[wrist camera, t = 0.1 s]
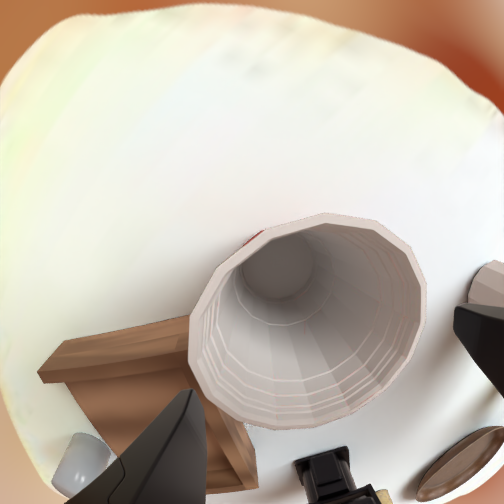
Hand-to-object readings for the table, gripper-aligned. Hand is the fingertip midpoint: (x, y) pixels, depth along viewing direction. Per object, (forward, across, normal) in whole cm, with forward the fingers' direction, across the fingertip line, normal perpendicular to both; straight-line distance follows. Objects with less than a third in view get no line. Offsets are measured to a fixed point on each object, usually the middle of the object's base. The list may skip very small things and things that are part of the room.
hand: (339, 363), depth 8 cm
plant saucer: (+15, -25, +47) cm, 56 cm away
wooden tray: (+15, +14, +12) cm, 24 cm away
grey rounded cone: (+15, +27, +18) cm, 36 cm away
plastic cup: (+15, 0, +1) cm, 15 cm away
